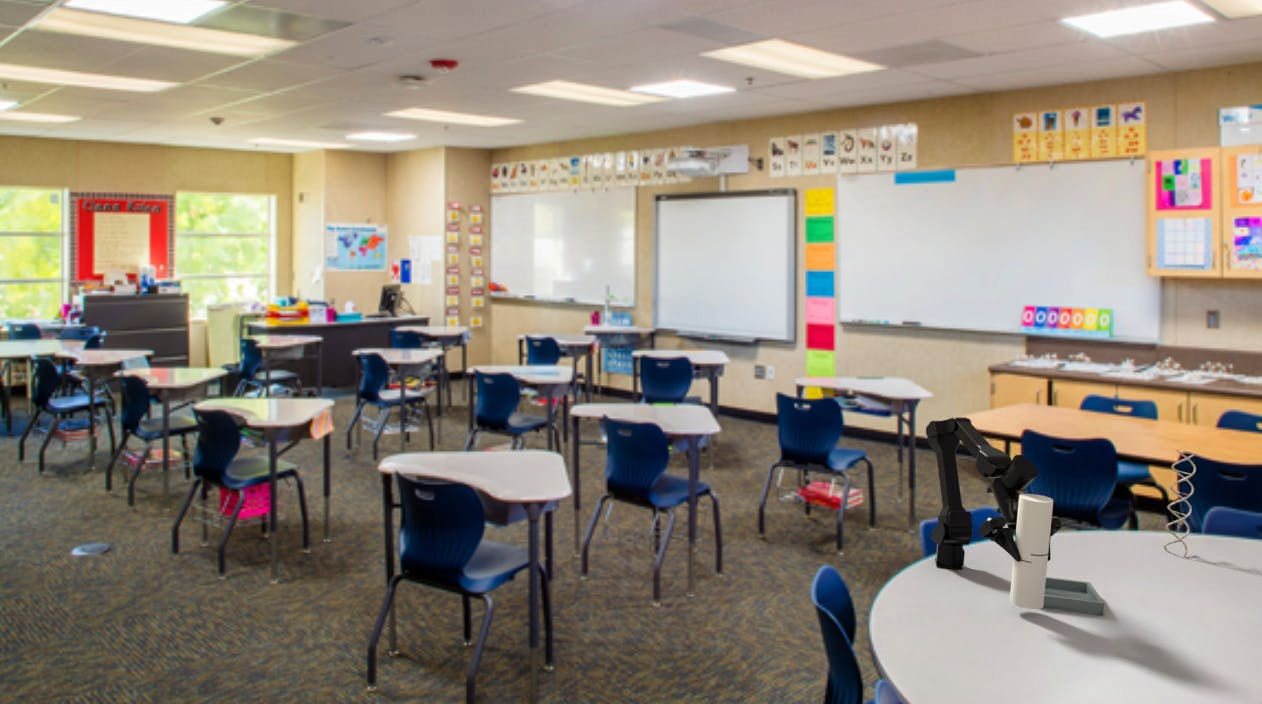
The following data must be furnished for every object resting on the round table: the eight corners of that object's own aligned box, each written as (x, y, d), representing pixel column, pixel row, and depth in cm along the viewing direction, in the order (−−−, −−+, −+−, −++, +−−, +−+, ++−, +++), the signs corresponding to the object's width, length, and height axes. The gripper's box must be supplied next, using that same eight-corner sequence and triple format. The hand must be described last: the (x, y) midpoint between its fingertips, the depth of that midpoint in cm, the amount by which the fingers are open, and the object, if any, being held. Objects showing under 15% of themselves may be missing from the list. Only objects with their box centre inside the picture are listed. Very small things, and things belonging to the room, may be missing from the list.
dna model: (1156, 550, 260) (1166, 449, 257) (1173, 549, 262) (1183, 449, 259) (1176, 557, 254) (1187, 454, 251) (1193, 556, 256) (1204, 454, 253)
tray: (1033, 606, 211) (1034, 594, 210) (1023, 585, 225) (1024, 574, 225) (1103, 615, 207) (1104, 603, 206) (1088, 593, 221) (1090, 582, 221)
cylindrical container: (1046, 610, 202) (1057, 503, 199) (1013, 607, 203) (1023, 500, 201) (1038, 599, 209) (1048, 495, 206) (1006, 595, 210) (1016, 492, 207)
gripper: (990, 483, 205) (1015, 545, 195) (1062, 483, 209) (1089, 544, 199) (968, 507, 214) (991, 567, 204) (1037, 506, 217) (1063, 565, 208)
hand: (1034, 560), depth 203 cm, fingers closed on cylindrical container, 7 cm apart
